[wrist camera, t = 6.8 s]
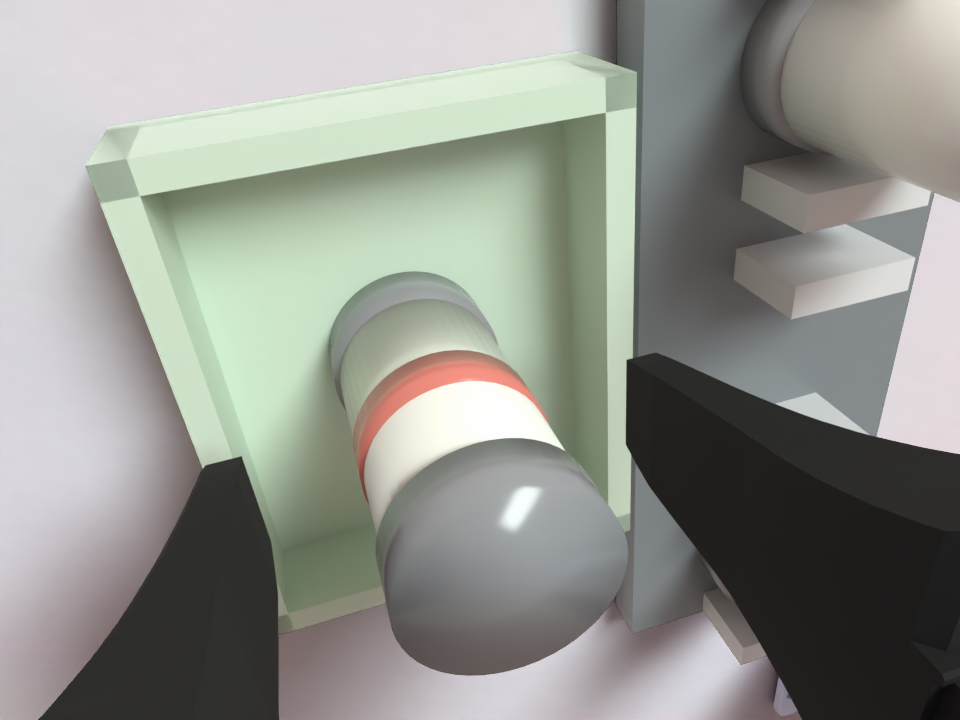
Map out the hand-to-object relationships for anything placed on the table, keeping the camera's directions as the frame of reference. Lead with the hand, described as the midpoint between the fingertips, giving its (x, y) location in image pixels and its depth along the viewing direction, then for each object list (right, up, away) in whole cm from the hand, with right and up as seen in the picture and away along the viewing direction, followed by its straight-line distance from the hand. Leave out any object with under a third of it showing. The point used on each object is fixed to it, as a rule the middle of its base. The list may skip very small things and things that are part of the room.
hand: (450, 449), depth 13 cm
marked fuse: (-1, +2, +3) cm, 4 cm away
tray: (-1, +2, +4) cm, 5 cm away
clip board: (+8, +3, +7) cm, 11 cm away
